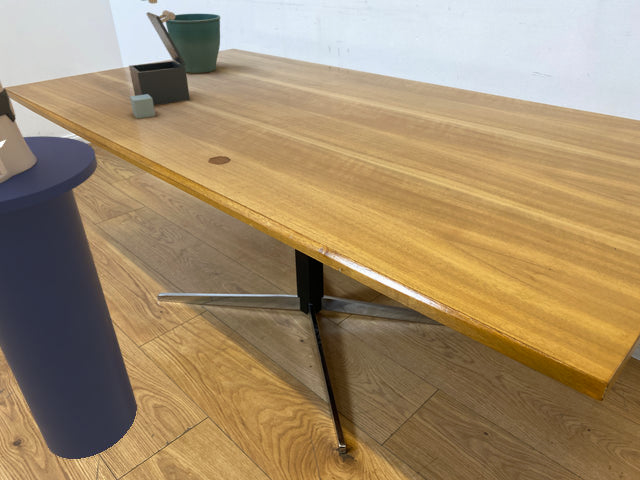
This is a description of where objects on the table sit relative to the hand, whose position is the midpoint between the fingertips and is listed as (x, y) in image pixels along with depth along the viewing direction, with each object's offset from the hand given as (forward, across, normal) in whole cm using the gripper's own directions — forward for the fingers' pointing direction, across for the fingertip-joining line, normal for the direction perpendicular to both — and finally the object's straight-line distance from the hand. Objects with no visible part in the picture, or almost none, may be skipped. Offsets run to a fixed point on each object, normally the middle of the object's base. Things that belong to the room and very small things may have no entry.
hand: (148, 1), depth 121 cm
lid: (+10, -3, +4) cm, 11 cm away
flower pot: (+25, -34, +22) cm, 47 cm away
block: (+25, +10, -8) cm, 28 cm away
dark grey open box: (+25, -3, 0) cm, 25 cm away
